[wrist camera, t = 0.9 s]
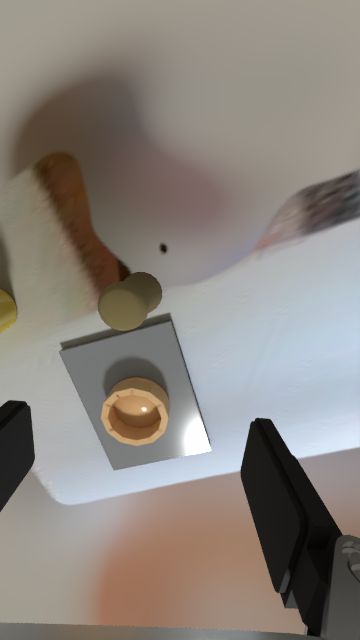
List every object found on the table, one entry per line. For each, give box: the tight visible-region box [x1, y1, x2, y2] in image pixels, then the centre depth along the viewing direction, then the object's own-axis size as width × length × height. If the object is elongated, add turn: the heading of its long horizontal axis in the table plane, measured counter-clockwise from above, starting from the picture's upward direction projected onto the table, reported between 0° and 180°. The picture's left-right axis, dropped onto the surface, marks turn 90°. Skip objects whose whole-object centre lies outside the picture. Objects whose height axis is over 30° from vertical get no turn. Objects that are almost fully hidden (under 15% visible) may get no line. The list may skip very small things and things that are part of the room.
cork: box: [98, 272, 162, 331], centre depth 27 cm, size 6×6×11 cm
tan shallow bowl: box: [101, 377, 170, 446], centre depth 34 cm, size 10×10×3 cm
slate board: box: [59, 320, 211, 470], centre depth 37 cm, size 18×24×1 cm
